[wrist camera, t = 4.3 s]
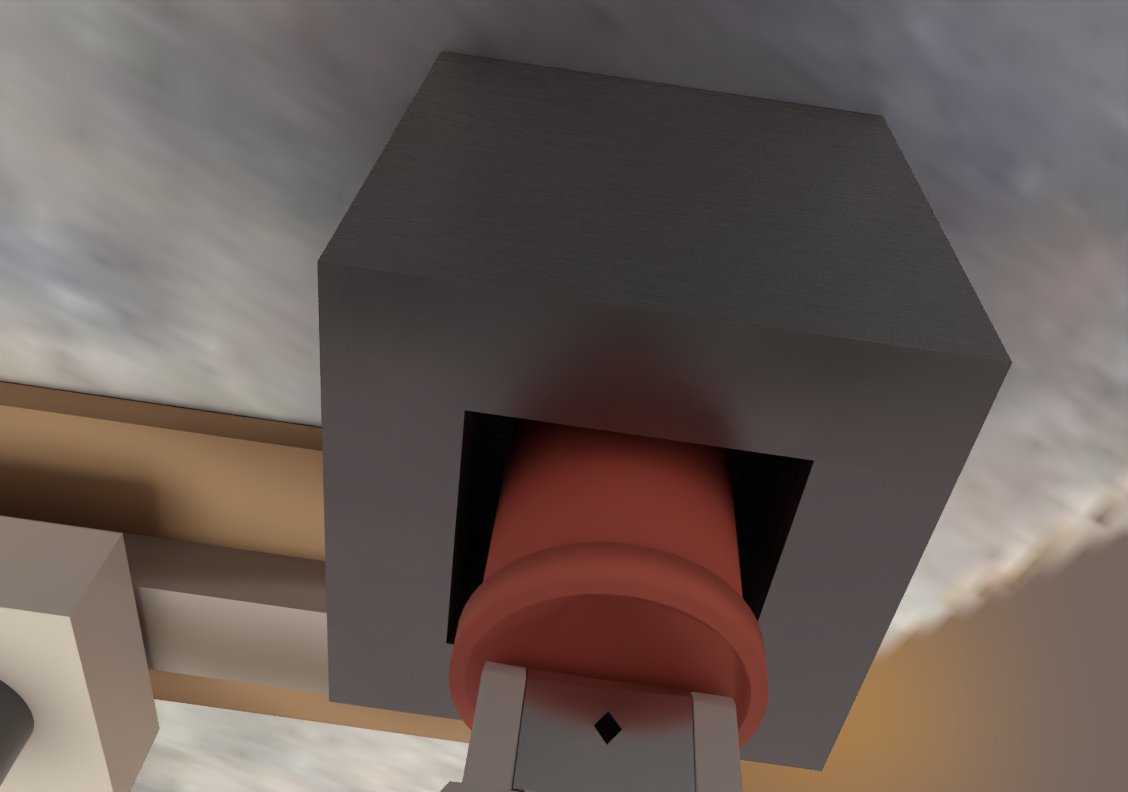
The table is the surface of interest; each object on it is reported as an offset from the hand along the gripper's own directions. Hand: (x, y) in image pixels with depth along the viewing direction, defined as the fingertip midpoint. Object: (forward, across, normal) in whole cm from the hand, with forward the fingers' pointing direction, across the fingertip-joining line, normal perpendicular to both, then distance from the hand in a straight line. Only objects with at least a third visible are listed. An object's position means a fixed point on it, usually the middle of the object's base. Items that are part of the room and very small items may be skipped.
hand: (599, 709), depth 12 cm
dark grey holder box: (+10, 0, 0) cm, 10 cm away
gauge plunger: (+5, 0, 0) cm, 5 cm away
